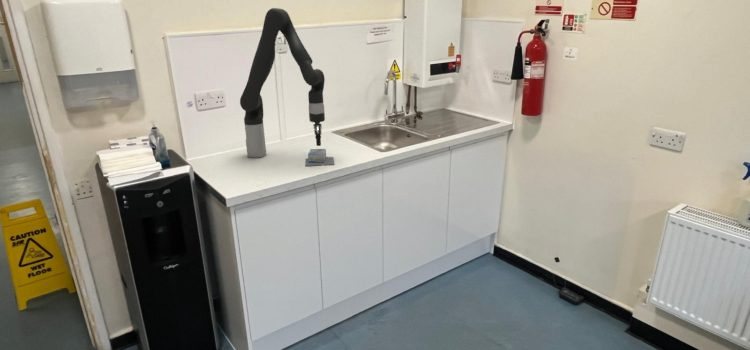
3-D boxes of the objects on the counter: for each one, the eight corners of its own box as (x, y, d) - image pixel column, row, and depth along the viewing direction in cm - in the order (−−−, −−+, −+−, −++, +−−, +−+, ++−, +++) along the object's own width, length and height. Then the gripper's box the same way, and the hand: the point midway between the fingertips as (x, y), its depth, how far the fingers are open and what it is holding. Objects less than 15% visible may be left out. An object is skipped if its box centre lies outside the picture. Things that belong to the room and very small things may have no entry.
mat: (305, 166, 223) (305, 165, 223) (305, 159, 234) (305, 158, 233) (334, 164, 225) (334, 164, 225) (333, 157, 235) (333, 156, 235)
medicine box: (325, 148, 234) (323, 153, 226) (326, 157, 235) (324, 162, 227) (310, 148, 234) (307, 154, 226) (310, 157, 236) (308, 162, 227)
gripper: (308, 108, 231) (311, 142, 237) (308, 114, 219) (311, 149, 225) (324, 108, 232) (325, 141, 238) (324, 114, 220) (326, 148, 226)
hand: (318, 145), depth 232 cm, fingers closed
